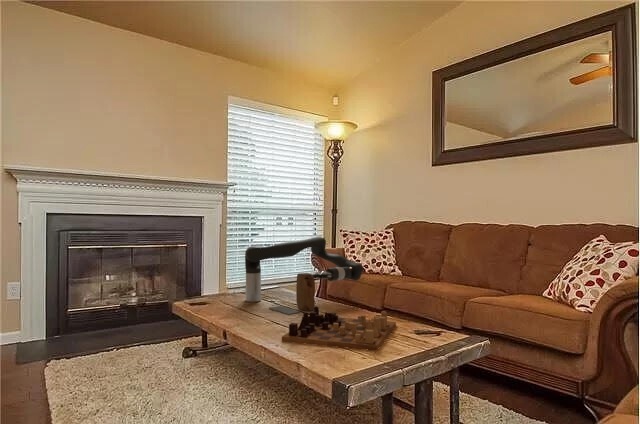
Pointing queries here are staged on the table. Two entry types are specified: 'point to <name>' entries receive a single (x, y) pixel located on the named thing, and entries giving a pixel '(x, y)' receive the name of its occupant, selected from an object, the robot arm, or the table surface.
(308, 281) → the block
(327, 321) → the gameboard
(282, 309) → the mat
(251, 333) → the table surface
